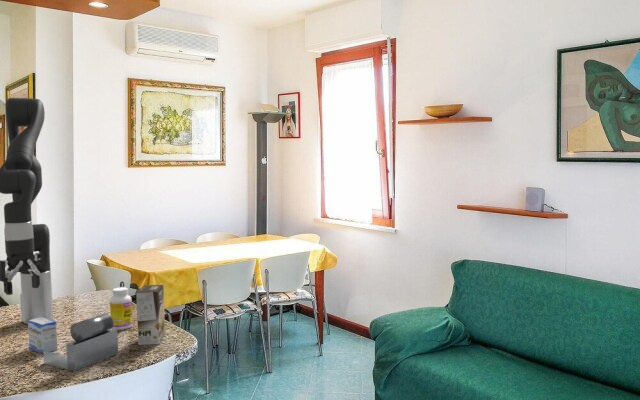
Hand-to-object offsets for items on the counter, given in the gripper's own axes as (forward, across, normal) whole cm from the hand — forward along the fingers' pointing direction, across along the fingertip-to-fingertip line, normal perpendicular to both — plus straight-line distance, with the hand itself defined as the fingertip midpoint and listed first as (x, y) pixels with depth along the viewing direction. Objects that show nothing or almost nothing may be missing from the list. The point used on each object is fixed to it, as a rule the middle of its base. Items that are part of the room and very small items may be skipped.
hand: (22, 291), depth 166 cm
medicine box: (+17, +1, +9) cm, 19 cm away
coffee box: (+17, -19, +32) cm, 41 cm away
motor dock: (+16, +1, +26) cm, 30 cm away
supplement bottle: (+17, -24, +14) cm, 33 cm away
